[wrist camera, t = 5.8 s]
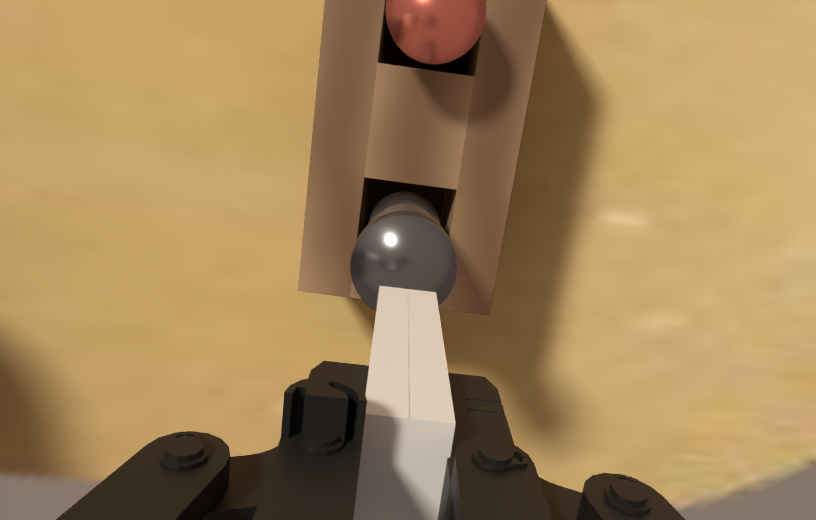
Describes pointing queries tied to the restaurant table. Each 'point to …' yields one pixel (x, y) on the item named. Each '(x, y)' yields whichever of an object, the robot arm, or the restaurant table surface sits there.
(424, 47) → the plug red
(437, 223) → the plug grey
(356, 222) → the block
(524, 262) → the restaurant table surface
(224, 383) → the restaurant table surface
